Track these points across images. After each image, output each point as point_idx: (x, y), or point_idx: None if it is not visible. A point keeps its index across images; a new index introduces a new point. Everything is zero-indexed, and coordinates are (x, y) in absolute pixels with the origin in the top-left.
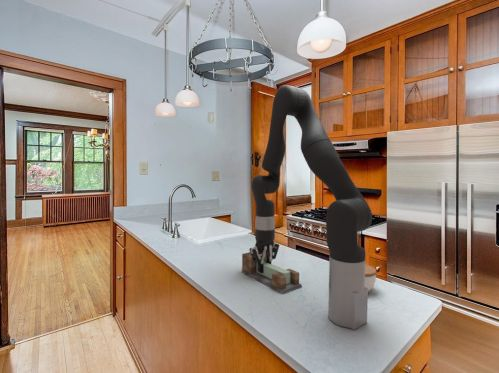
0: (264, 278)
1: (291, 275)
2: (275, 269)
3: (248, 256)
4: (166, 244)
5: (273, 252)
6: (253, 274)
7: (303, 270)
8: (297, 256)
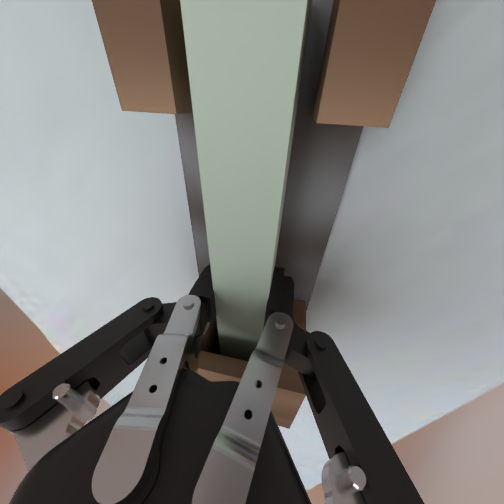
0: (300, 229)
1: None
2: (273, 175)
3: (299, 407)
4: (298, 470)
5: (121, 349)
6: (299, 293)
7: (34, 172)
8: (22, 281)
